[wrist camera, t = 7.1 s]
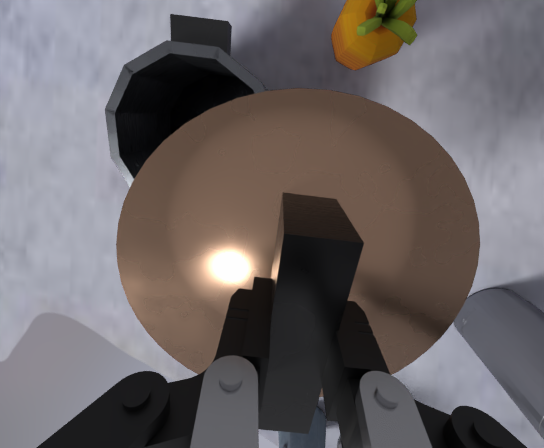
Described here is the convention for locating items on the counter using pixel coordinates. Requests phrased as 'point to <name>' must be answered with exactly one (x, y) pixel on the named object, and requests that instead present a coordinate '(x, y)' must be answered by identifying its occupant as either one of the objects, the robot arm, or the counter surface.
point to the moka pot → (311, 444)
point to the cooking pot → (172, 89)
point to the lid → (298, 235)
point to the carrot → (372, 31)
